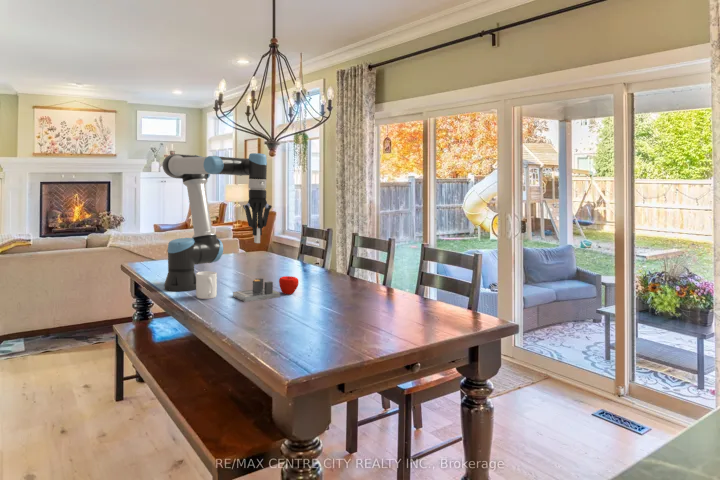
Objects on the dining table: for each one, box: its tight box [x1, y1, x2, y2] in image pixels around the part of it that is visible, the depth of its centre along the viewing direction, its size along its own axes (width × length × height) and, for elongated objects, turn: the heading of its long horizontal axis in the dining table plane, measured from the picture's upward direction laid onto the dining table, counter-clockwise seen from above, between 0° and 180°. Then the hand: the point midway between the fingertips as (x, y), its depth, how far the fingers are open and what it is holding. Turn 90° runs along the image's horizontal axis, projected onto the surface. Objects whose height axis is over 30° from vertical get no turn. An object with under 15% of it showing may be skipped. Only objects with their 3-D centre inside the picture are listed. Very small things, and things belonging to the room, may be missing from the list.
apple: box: [278, 275, 299, 295], centre depth 226 cm, size 9×9×8 cm
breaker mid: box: [252, 279, 261, 293], centre depth 217 cm, size 2×3×5 cm, turn 129°
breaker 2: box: [263, 280, 274, 294], centre depth 216 cm, size 2×3×5 cm, turn 129°
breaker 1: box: [254, 277, 264, 290], centre depth 223 cm, size 2×3×5 cm, turn 129°
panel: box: [232, 287, 281, 303], centre depth 218 cm, size 12×17×2 cm
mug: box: [195, 271, 218, 300], centre depth 213 cm, size 9×12×11 cm
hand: (257, 242), depth 215 cm, fingers closed
